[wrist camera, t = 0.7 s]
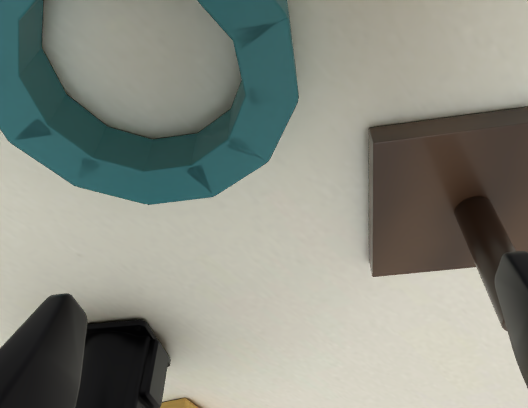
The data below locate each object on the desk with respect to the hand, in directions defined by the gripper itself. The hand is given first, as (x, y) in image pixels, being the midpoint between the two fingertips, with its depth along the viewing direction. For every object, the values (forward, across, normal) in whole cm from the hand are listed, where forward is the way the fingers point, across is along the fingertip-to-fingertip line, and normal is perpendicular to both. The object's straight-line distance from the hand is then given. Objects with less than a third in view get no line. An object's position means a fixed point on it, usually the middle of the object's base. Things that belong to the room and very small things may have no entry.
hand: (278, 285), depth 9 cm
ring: (+12, +5, 0) cm, 13 cm away
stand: (+12, -9, +10) cm, 18 cm away
